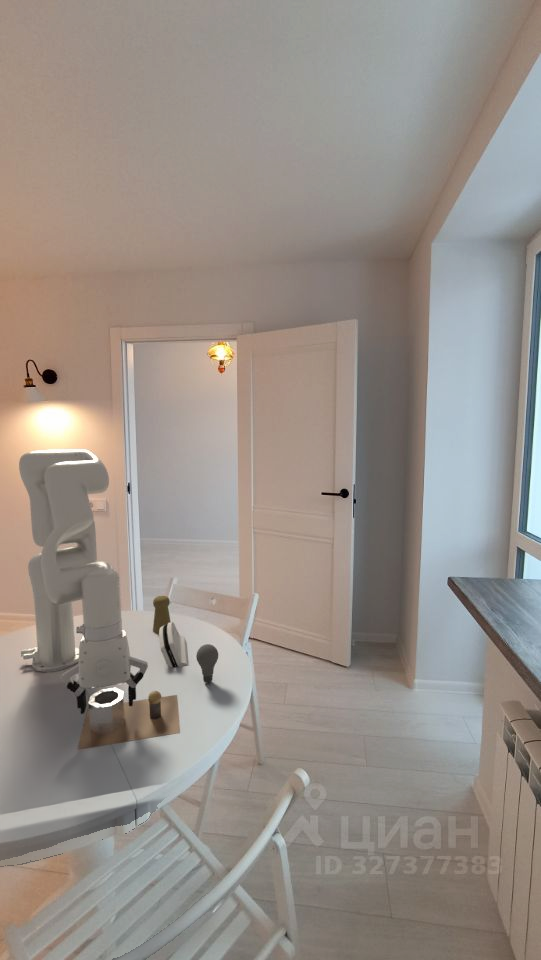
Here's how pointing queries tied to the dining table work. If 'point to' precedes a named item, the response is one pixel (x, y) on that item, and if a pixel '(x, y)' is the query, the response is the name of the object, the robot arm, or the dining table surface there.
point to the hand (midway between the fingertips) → (107, 706)
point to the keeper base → (138, 722)
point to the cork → (161, 613)
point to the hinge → (173, 646)
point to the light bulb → (207, 661)
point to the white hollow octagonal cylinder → (106, 711)
